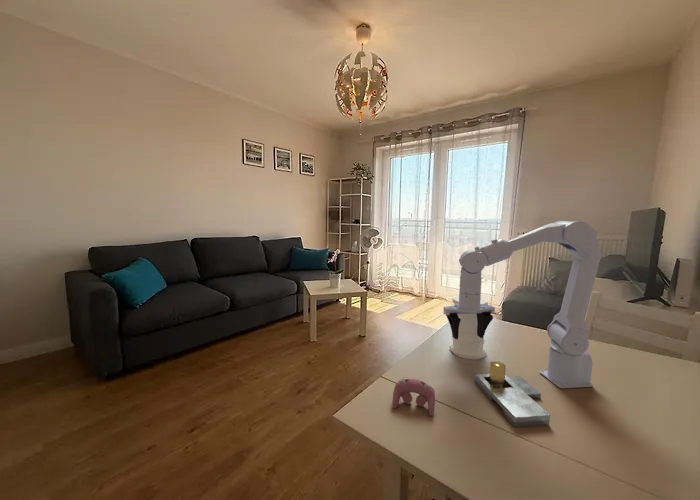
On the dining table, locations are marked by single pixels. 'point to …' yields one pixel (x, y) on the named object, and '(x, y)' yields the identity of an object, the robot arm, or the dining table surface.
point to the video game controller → (414, 386)
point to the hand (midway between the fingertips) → (467, 337)
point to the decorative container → (468, 335)
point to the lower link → (520, 383)
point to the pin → (497, 374)
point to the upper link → (515, 403)
